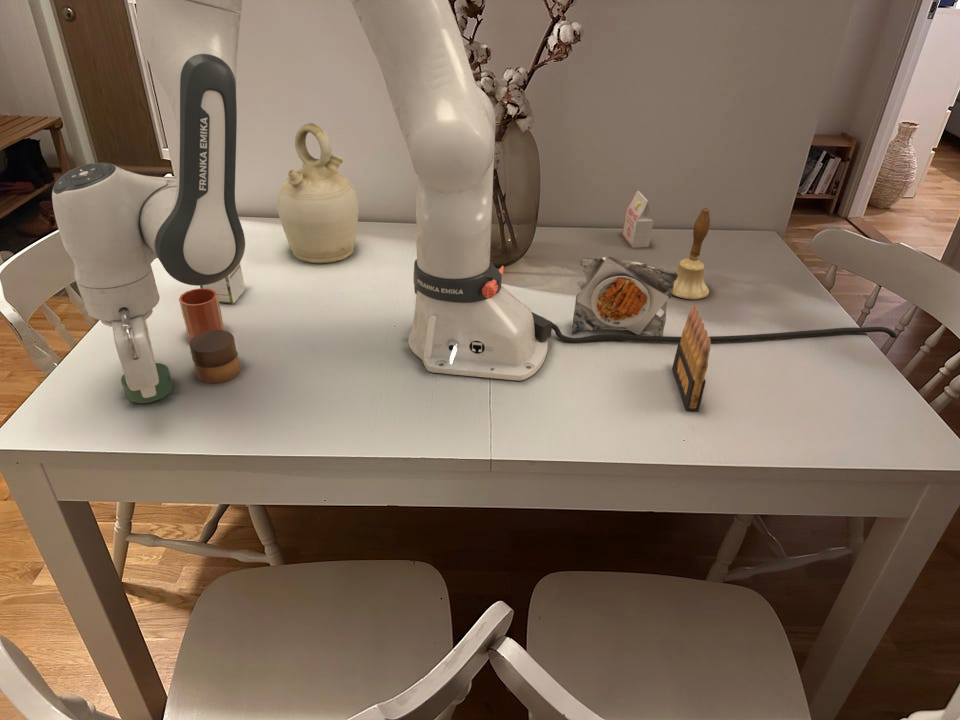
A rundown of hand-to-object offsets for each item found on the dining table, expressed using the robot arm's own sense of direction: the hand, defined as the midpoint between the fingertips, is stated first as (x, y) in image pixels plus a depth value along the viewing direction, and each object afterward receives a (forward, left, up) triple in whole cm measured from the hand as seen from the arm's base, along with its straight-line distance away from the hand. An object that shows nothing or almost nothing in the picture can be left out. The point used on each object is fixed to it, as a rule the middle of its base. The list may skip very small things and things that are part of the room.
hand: (146, 379), depth 97 cm
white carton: (-59, -80, -3) cm, 99 cm away
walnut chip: (-5, -8, 0) cm, 10 cm away
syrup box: (+7, -28, -3) cm, 29 cm away
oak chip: (-6, -8, -2) cm, 10 cm away
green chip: (0, 0, -2) cm, 2 cm away
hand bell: (-71, -61, -3) cm, 93 cm away
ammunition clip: (-73, -28, -3) cm, 78 cm away
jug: (0, -51, -3) cm, 51 cm away
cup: (+2, -16, -2) cm, 16 cm away
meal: (-61, -40, -3) cm, 73 cm away
